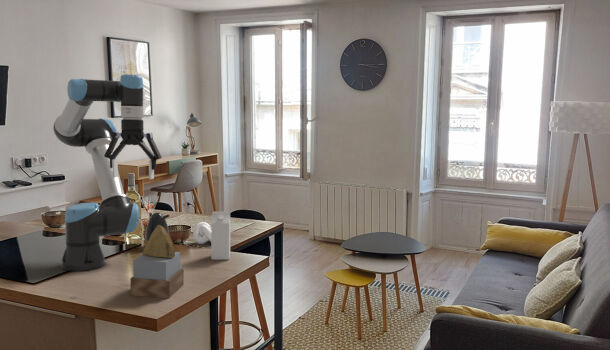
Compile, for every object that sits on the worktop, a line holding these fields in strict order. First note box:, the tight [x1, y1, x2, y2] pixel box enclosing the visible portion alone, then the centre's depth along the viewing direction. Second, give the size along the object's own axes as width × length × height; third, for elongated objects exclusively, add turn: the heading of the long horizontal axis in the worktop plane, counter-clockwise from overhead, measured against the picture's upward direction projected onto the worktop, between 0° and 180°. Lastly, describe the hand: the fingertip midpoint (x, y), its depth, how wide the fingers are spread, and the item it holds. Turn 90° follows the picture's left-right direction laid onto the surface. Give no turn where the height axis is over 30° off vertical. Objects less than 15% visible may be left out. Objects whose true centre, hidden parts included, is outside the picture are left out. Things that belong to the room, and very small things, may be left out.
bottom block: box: [129, 268, 185, 299], centre depth 175 cm, size 13×13×6 cm
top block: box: [132, 251, 181, 280], centre depth 174 cm, size 11×12×6 cm
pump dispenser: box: [144, 212, 170, 243], centre depth 228 cm, size 10×10×15 cm
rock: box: [141, 225, 176, 258], centre depth 173 cm, size 11×9×10 cm
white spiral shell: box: [192, 221, 211, 245], centre depth 237 cm, size 11×12×9 cm
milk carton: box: [210, 211, 231, 261], centre depth 214 cm, size 7×7×19 cm
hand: (133, 178), depth 190 cm, fingers open, 13 cm apart
